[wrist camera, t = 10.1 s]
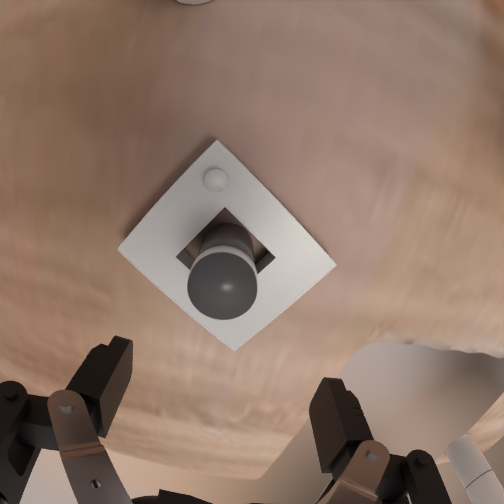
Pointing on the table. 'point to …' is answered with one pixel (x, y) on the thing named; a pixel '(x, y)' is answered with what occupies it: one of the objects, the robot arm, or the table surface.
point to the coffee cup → (193, 1)
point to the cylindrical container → (474, 471)
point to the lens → (224, 274)
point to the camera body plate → (251, 216)
